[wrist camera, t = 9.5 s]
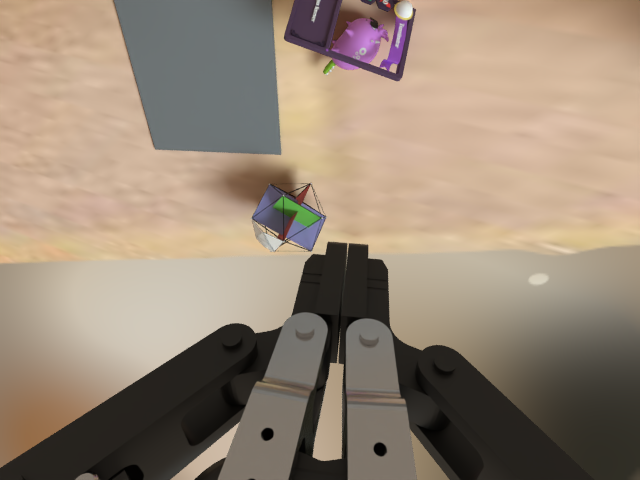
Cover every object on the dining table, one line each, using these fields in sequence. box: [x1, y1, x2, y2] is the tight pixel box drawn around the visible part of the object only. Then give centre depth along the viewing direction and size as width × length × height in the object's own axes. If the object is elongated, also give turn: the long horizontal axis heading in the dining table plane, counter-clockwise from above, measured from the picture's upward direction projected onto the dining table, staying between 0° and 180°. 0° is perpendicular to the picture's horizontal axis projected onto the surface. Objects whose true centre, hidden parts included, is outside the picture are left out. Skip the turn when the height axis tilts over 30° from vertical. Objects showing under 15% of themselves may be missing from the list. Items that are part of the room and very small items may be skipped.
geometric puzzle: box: [251, 183, 327, 252], centre depth 36 cm, size 7×7×8 cm
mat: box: [114, 0, 281, 155], centre depth 33 cm, size 13×14×1 cm
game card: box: [284, 0, 416, 81], centre depth 29 cm, size 7×5×9 cm
